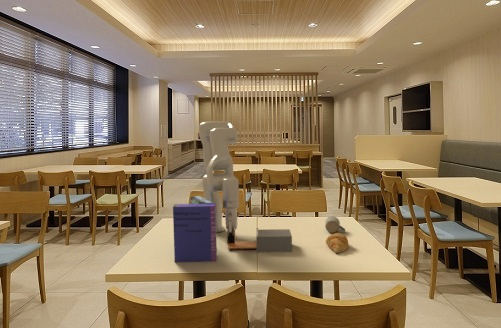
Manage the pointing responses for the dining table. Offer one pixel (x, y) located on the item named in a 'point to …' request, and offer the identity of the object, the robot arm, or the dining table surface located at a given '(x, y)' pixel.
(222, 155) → the robot arm
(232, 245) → the orange stepped block
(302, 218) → the dining table surface
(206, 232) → the cereal box
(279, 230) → the grey boxy piece
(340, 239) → the croissant
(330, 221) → the ceramic mug
